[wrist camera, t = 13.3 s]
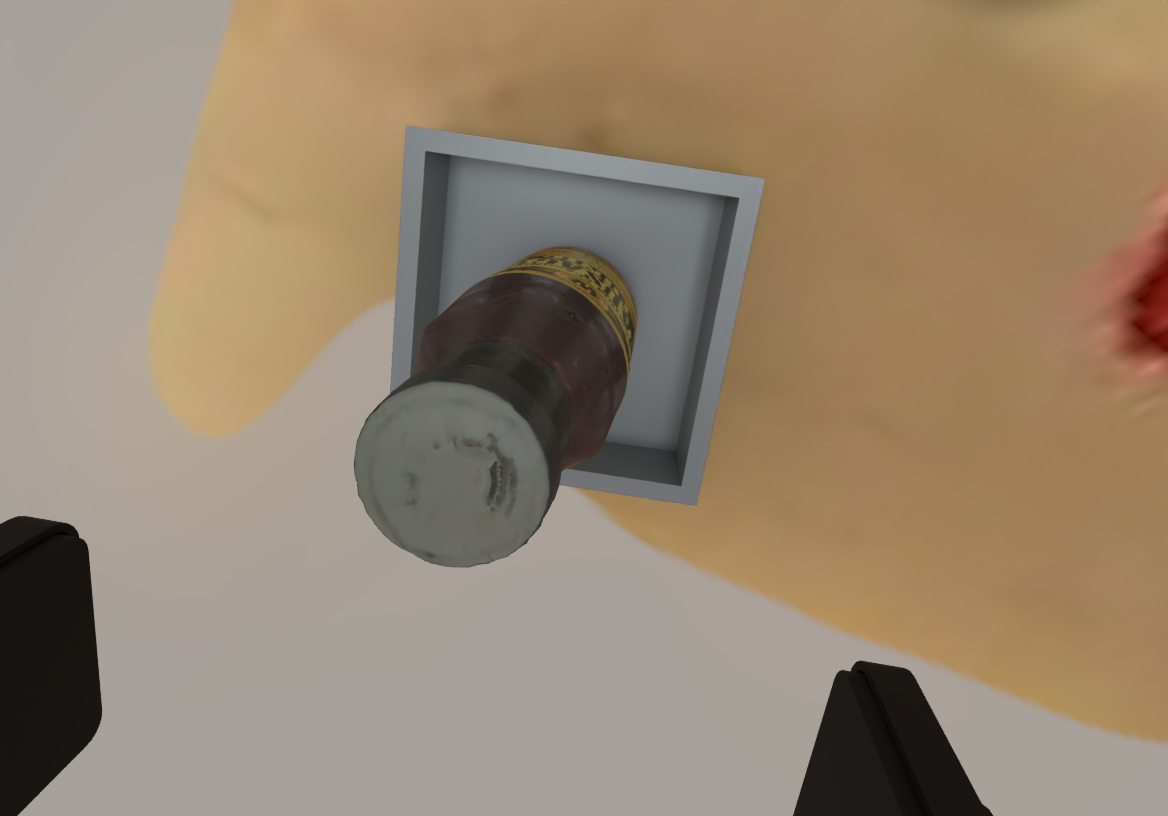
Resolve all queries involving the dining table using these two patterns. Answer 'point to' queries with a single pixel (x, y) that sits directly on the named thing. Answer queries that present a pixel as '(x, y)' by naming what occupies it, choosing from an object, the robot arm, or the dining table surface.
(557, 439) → the sauce bottle
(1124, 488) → the dining table surface
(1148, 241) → the dining table surface
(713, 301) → the box
